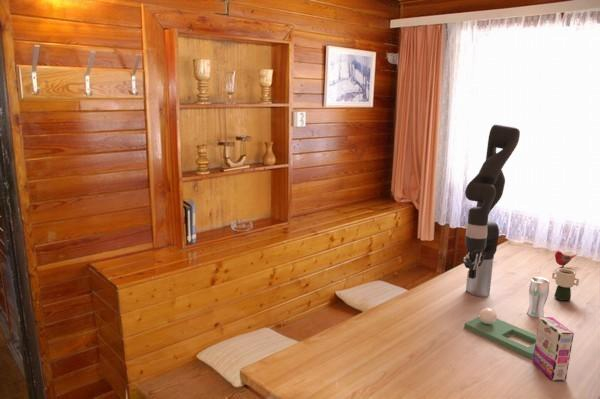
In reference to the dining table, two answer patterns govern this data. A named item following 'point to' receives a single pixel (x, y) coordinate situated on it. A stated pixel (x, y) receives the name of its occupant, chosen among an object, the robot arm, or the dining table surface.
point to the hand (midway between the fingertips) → (472, 277)
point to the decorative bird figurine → (562, 258)
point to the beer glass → (538, 296)
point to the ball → (487, 316)
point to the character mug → (564, 283)
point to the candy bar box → (553, 348)
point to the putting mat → (503, 335)
